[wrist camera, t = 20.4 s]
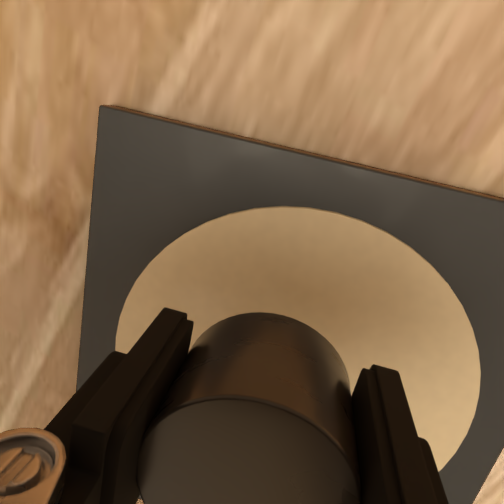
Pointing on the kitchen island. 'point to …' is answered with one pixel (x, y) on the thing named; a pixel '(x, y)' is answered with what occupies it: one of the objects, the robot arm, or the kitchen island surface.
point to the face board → (305, 267)
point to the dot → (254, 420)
